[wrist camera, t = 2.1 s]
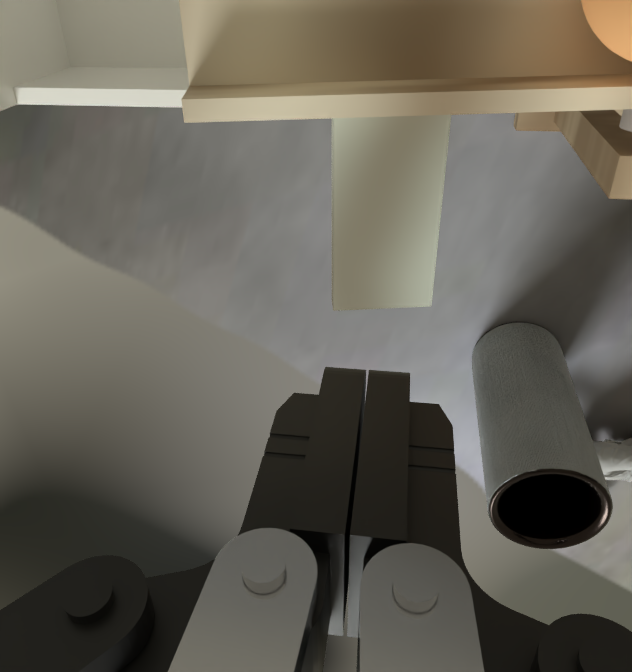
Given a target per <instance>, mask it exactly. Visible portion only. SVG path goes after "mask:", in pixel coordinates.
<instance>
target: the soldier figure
mask: <svg viewBox="0 0 632 672" xmlns="http://www.w3.org/2000/svg"><path fill="white" fill-rule="evenodd" d="M616 443H617V444H616ZM593 444H594V447H595V450H596V453H597V456H598V459H599V462H600V465H601V468H602V471H603V474H604V477H605V480H627V481H628V482H632V438H629V439H626V440H624V441H622V442H616V441H612V440H609V439H605V441H604V442H602V441H593Z"/></svg>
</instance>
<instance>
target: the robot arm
mask: <svg viewBox="0 0 632 672" xmlns="http://www.w3.org/2000/svg"><path fill="white" fill-rule="evenodd" d="M365 389H366V370H360V369H346V368H333V367H325V370H324V374H323V378H322V383H321V388H320V392H319V395H314V394H301V393H294V394H292V396H291V397H290V398H289V399H288V400H287V401H286V402H285V403H284V404H283V405H282V406H281V407H280V408H279V409H278V410H277V412H276V415H275V419H274V422H273V425H272V428H271V432H270V438H269V439H268V442H267V445H266V449H265V454H264V456H263V458H262V462H261V465H260V468H259V471H258V475H257V478H256V481H255V485H254V488H253V492H252V495H251V498H250V501H249V505H248V508H247V511H246V515H245V518H244V521H243V524H242V527H241V530H240V532H239V534H238V536H237V537H235V538H234V539H232V540H231V541H230V542H228V543H227V544H226V545H225V546H224V547H223V548H222V550H221V551H220V552H219V554H218V555H217V557H216V559H214V560H212V561H210V562H209V563H207V564H205V565H202V566H200V567H197V568H194V569H190V570H186V571H181V572H176V573H170V574H165V575H159V576H154V577H148V578H145V576H144V574H143V572H142V571H141V569H140V568H139V567H138V566H137V565H136V564H135V563H133V562H132V561H130V560H128V559H125V558H123V557H119V556H113V555H110V556H109V555H103V556H95V557H91V558H88V559H84V560H82V561H79V562H77V563H75V564H73V565H71V566H69V567H67V568H66V569H64V570H63V571H61V572H59V573H58V574H57V575H55V576H53V577H52V578H50V579H48V580H47V581H45V582H44V583H42V584H41V585H39V586H37V587H36V588H34V589H33V590H31V591H30V592H28V593H26V594H25V595H23V596H22V597H20V598H19V599H17V600H15V601H14V602H12V603H11V604H9V605H8V606H6V607H5V608H3V609H1V610H0V672H323V668H324V662H325V654H326V646H327V639H328V634H331V635H340V636H343V630H344V621H345V611H346V603H347V593H348V632H347V633H348V634H347V636H349V637H357V638H358V649H357V672H632V632H631V631H629V630H628V629H626V628H625V627H623V626H621V625H619V624H617V623H615V622H613V621H611V620H609V619H606V618H603V617H600V616H595V615H590V614H572V615H568V616H564V617H561V618H560V619H558V620H555V621H554V622H553V623H551V624H550V625H547V624H544V623H542V622H540V621H537V620H535V619H533V618H530V617H528V616H526V615H523V614H521V613H518V612H516V611H514V610H512V609H510V608H508V607H506V606H504V605H502V604H500V603H499V602H497V601H495V600H494V599H492V598H491V597H490V596H488V595H487V594H486V593H485V592H484V591H483V590H482V589H481V588H480V587H479V586H478V585H477V584H476V583H475V581H474V580H473V579H472V577H471V576H470V574H469V572H468V570H467V569H466V567H465V564H464V561H463V558H462V552H461V543H460V528H459V513H458V499H457V485H456V474H455V455H454V441H453V426H452V424H451V423H450V421H449V419H448V418H447V416H446V415H445V413H444V412H443V410H442V409H441V407H440V405H439V404H430V403H417V402H409V400H410V373H403V372H389V371H376V370H369V375H368V384H367V392H366V401H365ZM348 584H349V592H348Z"/></svg>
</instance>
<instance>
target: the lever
mask: <svg viewBox="0 0 632 672" xmlns="http://www.w3.org/2000/svg"><path fill="white" fill-rule="evenodd" d="M179 6H180V14H181V22H182V31H183V39H184V47H185V55H186V63H187V71H188V79H189V87H188V89H187V91H186V92H185V94H184V96H183V97H182V99H181V101H182V108H183V116H184V123H193V122H226V121H259V120H292V119H325V118H332V305H333V311H336V310H359V309H382V308H406V307H429V306H431V304H432V294H433V285H434V275H435V266H436V256H437V246H438V237H439V227H440V218H441V208H442V198H443V189H444V179H445V170H446V160H447V150H448V141H449V131H450V122H451V115H457V114H490V113H523V112H556V111H589V110H622V109H623V113H622V117H621V121H620V124H619V127H620V128H621V129H623V130H626V131H630V132H632V61H629V60H626V59H624V58H623V57H621V56H619V55H617V54H616V53H614V52H612V51H611V50H610V49H609V48H608V47H606V46H605V45H604V44H603V43H602V42H601V41H600V39H599V38H598V37H597V36H596V34H595V33H594V32H593V30H592V29H591V27H590V25H589V23H588V21H587V19H586V16H585V13H584V11H583V7H582V2H581V0H179Z"/></svg>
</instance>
